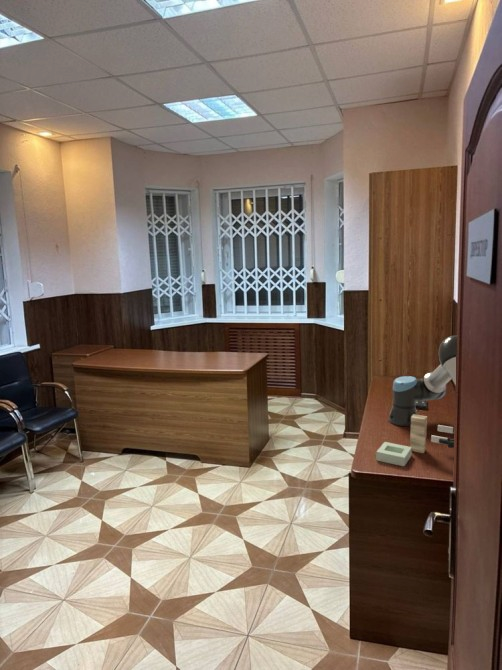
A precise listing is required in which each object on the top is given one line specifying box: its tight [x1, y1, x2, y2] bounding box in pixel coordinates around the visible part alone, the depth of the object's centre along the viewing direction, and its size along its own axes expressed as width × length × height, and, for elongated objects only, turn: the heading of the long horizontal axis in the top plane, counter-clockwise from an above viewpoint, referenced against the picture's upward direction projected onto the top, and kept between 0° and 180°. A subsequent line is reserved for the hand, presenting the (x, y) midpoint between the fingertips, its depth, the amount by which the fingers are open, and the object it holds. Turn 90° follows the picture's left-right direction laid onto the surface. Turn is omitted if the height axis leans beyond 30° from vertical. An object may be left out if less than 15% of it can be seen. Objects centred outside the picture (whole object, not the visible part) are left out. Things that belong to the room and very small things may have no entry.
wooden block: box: [409, 414, 428, 454], centre depth 211 cm, size 4×6×16 cm, turn 58°
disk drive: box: [416, 400, 427, 411], centre depth 272 cm, size 10×3×15 cm
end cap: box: [375, 441, 413, 467], centre depth 205 cm, size 12×12×4 cm
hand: (434, 432), depth 207 cm, fingers open, 13 cm apart
